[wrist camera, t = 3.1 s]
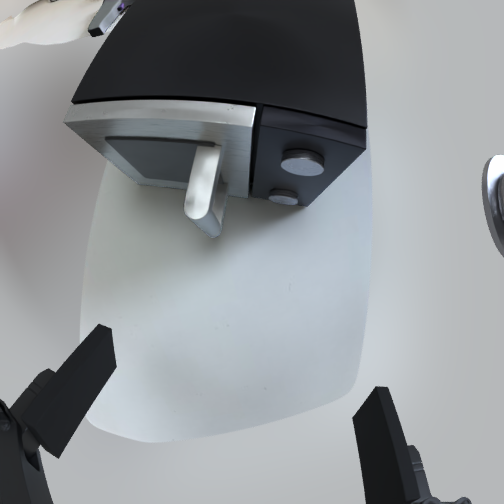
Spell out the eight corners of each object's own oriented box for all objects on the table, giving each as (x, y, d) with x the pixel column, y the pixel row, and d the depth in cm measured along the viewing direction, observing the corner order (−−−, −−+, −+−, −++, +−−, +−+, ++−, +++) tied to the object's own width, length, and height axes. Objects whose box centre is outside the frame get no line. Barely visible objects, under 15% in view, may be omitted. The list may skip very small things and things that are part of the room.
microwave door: (240, 244, 33) (235, 217, 15) (128, 226, 32) (39, 192, 15) (249, 186, 33) (256, 106, 15) (140, 172, 33) (70, 104, 15)
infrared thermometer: (90, 40, 35) (115, 1, 35) (138, 30, 35) (160, -8, 35) (81, 29, 31) (109, -10, 30) (131, 16, 31) (156, -21, 31)
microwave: (306, 213, 33) (367, 159, 15) (137, 188, 33) (59, 127, 15) (318, 77, 35) (352, -8, 17) (180, 61, 34) (156, -24, 16)
